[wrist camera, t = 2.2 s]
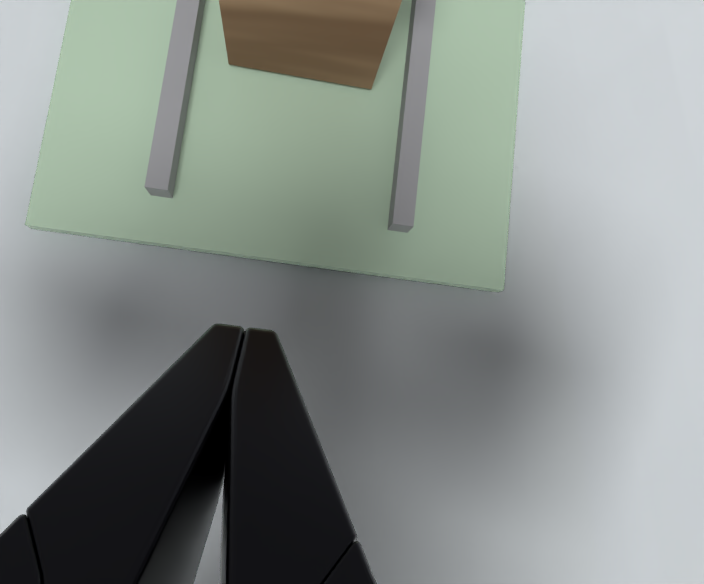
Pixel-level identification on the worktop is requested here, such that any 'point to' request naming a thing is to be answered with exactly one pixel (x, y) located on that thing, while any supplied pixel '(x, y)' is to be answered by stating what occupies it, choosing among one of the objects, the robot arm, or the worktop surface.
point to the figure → (310, 37)
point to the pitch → (287, 143)
